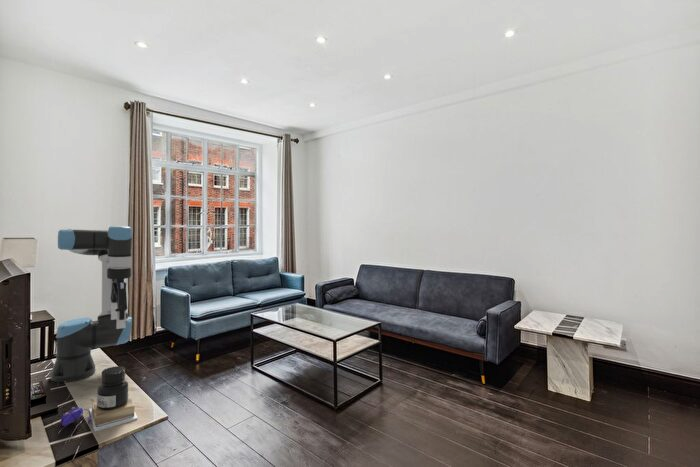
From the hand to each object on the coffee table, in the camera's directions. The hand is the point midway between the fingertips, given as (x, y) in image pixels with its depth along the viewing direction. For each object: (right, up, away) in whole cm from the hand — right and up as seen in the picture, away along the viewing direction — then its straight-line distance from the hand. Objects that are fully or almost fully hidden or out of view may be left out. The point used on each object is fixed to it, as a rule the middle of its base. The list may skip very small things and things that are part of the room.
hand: (117, 323), depth 132 cm
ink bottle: (+5, -26, -10) cm, 28 cm away
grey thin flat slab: (+5, -29, -10) cm, 31 cm away
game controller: (-3, -30, -16) cm, 34 cm away
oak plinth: (+5, -29, -10) cm, 31 cm away
